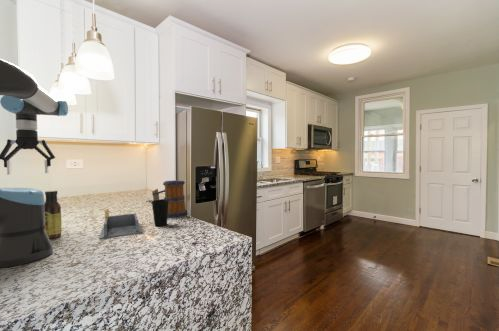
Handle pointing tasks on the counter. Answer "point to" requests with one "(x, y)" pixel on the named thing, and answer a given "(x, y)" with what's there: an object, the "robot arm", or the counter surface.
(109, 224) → the tray
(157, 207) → the cup
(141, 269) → the counter surface
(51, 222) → the sauce bottle
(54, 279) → the counter surface
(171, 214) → the mug
